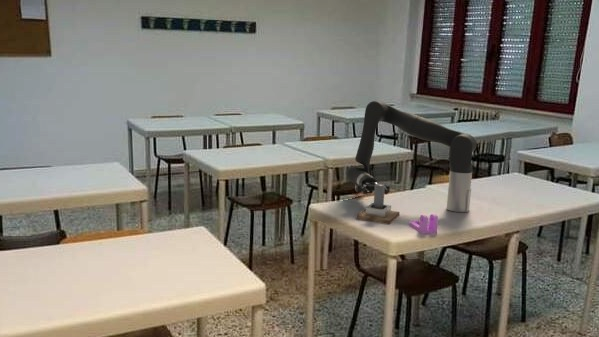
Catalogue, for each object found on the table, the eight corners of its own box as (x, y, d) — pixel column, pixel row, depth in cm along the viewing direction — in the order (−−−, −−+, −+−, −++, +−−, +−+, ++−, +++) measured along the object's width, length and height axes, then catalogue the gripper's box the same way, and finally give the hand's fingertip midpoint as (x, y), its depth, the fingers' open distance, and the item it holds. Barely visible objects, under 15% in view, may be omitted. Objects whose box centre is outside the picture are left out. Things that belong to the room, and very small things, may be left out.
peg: (384, 212, 223) (385, 184, 221) (381, 215, 220) (382, 186, 217) (375, 211, 225) (376, 183, 223) (372, 213, 222) (373, 185, 219)
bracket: (436, 233, 205) (438, 215, 203) (423, 234, 203) (425, 216, 201) (419, 223, 217) (420, 206, 215) (407, 224, 215) (408, 207, 214)
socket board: (399, 215, 226) (400, 204, 225) (389, 224, 214) (390, 213, 213) (367, 210, 232) (367, 200, 231) (356, 218, 219) (356, 208, 218)
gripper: (351, 174, 239) (360, 183, 223) (382, 174, 241) (393, 183, 225) (350, 191, 240) (359, 201, 225) (381, 191, 242) (392, 200, 226)
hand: (376, 192), depth 225 cm, fingers open, 8 cm apart
